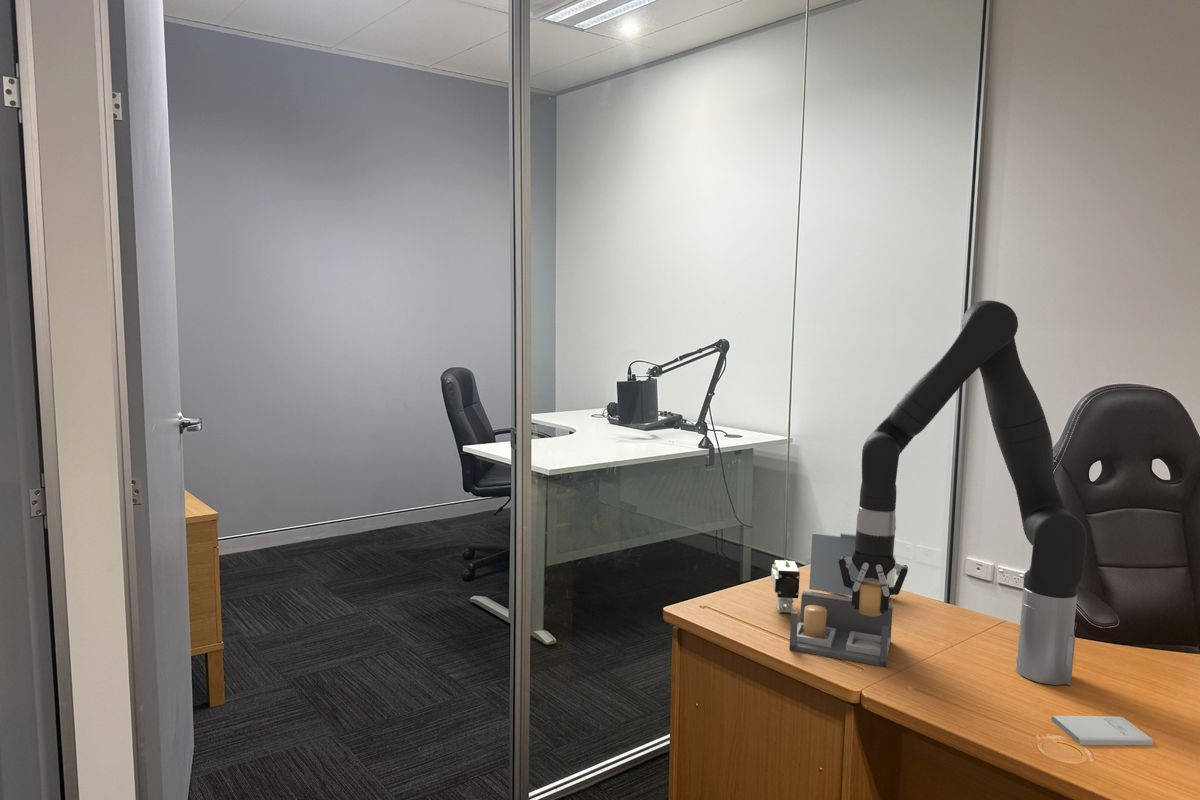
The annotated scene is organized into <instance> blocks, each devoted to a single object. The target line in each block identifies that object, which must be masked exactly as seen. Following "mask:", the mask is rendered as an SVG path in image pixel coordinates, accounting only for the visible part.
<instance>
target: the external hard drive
mask: <svg viewBox="0 0 1200 800" xmlns="http://www.w3.org/2000/svg"><path fill="white" fill-rule="evenodd" d="M1050 720H1051V722H1053V723H1054V724H1055V726H1057V727H1058V728H1059V729H1061V730H1062V731H1063V732H1064V733H1065V734H1066V735H1067V736H1069V737H1070V738H1071V739H1072V740H1074V741H1075V742H1076V743H1077V744H1078V745H1079V746H1153V745H1154V740H1153V738H1152V737H1150V736H1149V735H1147V733H1146V732H1143V731H1142V730H1141V729H1139V728H1138V727H1137V726H1135V725H1134V724H1133V723H1132V722H1130V721H1129V720H1127V719H1126V718H1124V717H1123V716H1106V715H1105V716H1104V715H1103V716H1098V715H1096V716H1095V715H1093V716H1091V715H1051V719H1050Z"/></svg>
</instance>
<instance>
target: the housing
mask: <svg viewBox="0 0 1200 800" xmlns="http://www.w3.org/2000/svg"><path fill="white" fill-rule="evenodd" d="M801 593H802V594H801V599H800V600H801V602H800V618H799V611H795V610H793V611H792V613H790V629H789V630H790V631H789V633H790V634H789V649H791V650H790V651H795V650H796V652H800V651H801V653H805V654H807V653H808V654H812V655H817V654H818V655H819V656H824V657H829V658H834V659H839V660H845V661H850V662H851V661H852V662H855V663H856V662H857V663H861V664H868V665H872V666H877V667H882V668H883V667H884V668H886V667H887V663H888V658H889V652H890V651H889V650H890V646H891V639H892V628H893V627H892V626H893V624H892V623H893V611H894V608H893V607H894V606H893V603H889V608H888V611H885V613H884V614H883V613H881V615H880V616H866V615H863V614H861V613H859V612H858V609H855V606H852V598H851V597H848V596H845V595H838V594H837V595H836V594H831V593H830V594H828V593H823V592H818V591H817V592H816V591H811V590H802V592H801ZM798 618H799V619H800V620H799V619H798ZM798 621H799V622H798ZM818 655H817V656H818Z"/></svg>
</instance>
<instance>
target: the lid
mask: <svg viewBox="0 0 1200 800" xmlns="http://www.w3.org/2000/svg"><path fill="white" fill-rule="evenodd" d="M855 542H856V534H852V533H851V534H850V533H845V532H841V533H840V535H835V534H827V533H818V532H812V533H811V548H810V549H811V551H810V552H811V554H810V568H809V569H810V570H809V586H808V587H809V590H812V591H817V592H825V593H830V594H831V593H832V594H837V593H838V594H837V595H839V594H844V595H843V596H846V595H851V596H852V590H851V589H850V588H848V587H845V586H844V584H843V579H842V575H841V570H840V566H839V559H840V557H841V556H844V557H852V556H853V554H854V553H855ZM850 564H851V565H850V567H849V568H848V570H849V575H850V579H851V581H853V582H855V580H856V578H857V576H858V573H859V571H858V570H857V568H856V567H855V565H854V563H853V562H851V563H850ZM887 576H888V574H887ZM863 581H875V582H879V583H880V581H879V580H877V579H874V578H863ZM859 589H860V587H859Z"/></svg>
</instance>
